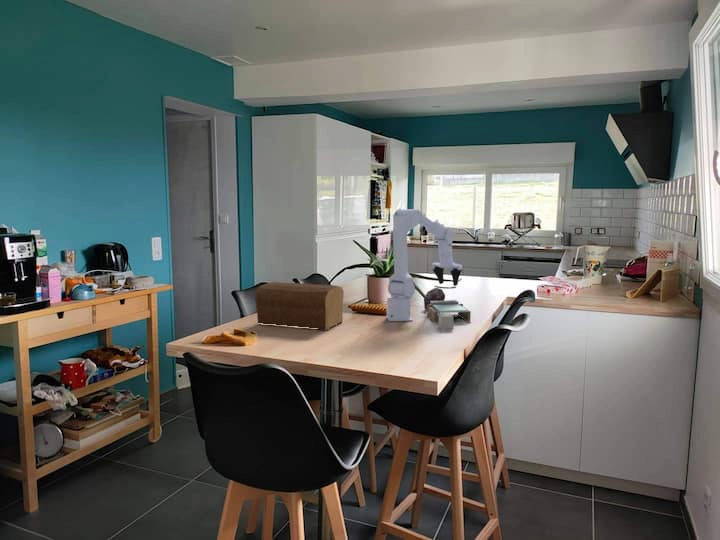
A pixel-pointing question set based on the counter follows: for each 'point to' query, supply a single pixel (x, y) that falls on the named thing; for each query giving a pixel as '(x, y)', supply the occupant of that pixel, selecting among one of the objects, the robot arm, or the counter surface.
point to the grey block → (445, 321)
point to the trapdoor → (447, 306)
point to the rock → (434, 296)
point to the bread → (299, 304)
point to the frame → (434, 314)
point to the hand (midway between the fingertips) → (448, 284)
